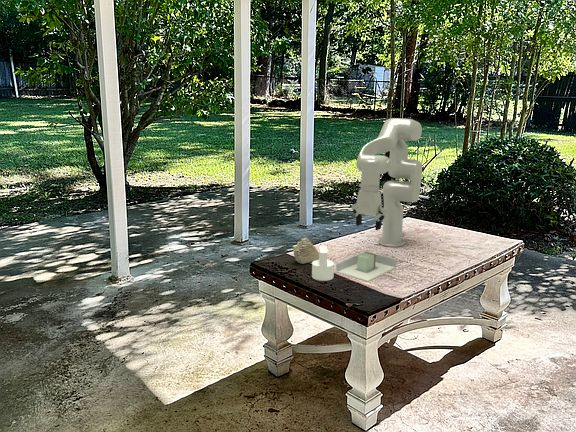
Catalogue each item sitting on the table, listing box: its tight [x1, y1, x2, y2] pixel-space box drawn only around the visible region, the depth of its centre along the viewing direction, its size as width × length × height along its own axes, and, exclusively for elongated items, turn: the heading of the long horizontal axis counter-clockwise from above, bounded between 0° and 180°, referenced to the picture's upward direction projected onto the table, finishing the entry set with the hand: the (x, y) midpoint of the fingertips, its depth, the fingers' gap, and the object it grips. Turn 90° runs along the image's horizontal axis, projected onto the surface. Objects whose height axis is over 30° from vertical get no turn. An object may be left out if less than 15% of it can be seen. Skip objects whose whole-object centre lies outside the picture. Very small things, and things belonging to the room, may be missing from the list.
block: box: [357, 251, 377, 272], centre depth 232 cm, size 5×7×6 cm, turn 138°
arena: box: [335, 250, 398, 283], centre depth 233 cm, size 22×16×4 cm
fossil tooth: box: [292, 237, 319, 265], centre depth 242 cm, size 12×6×15 cm
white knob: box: [311, 245, 335, 282], centre depth 224 cm, size 9×9×12 cm
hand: (368, 227), depth 230 cm, fingers open, 9 cm apart
